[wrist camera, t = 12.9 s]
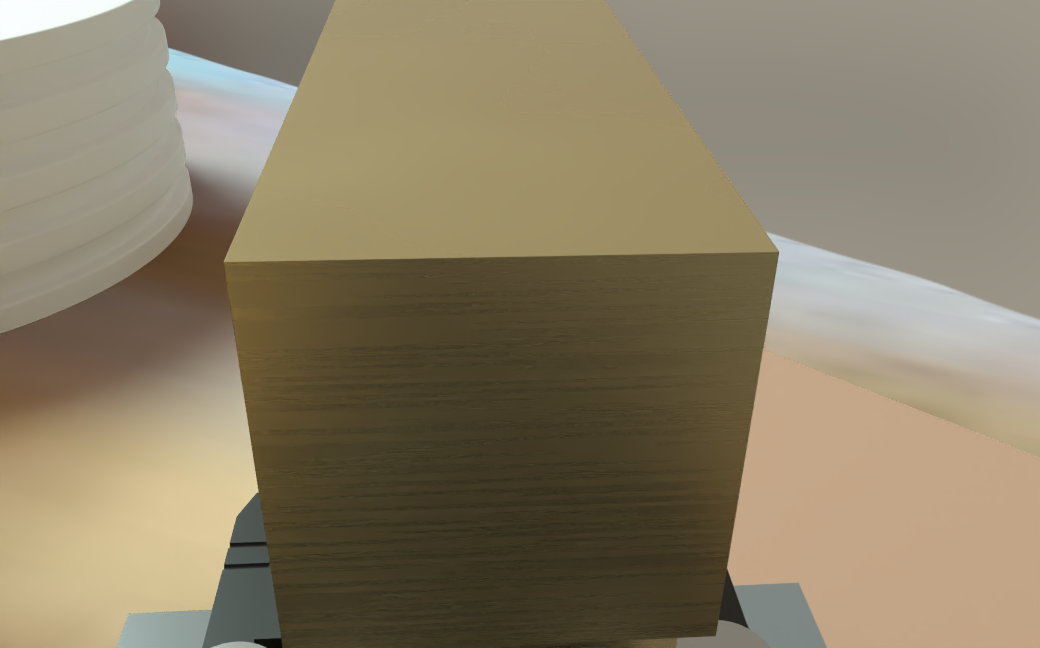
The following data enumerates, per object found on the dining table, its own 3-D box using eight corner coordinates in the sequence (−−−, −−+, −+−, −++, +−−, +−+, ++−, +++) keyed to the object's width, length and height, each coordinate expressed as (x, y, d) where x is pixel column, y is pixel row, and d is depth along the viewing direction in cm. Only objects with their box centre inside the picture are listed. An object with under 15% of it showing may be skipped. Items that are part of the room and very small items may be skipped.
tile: (956, 822, 22) (965, 800, 21) (491, 535, 29) (490, 514, 29) (1114, 508, 31) (1122, 489, 30) (727, 353, 39) (729, 336, 38)
